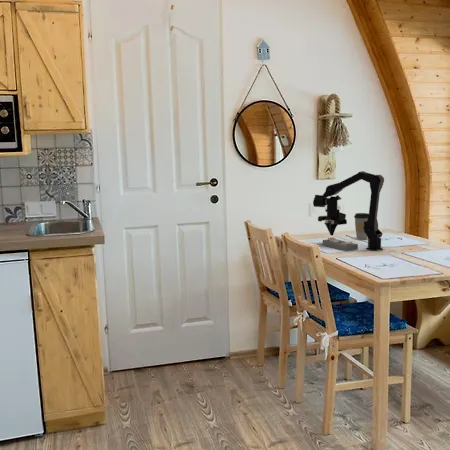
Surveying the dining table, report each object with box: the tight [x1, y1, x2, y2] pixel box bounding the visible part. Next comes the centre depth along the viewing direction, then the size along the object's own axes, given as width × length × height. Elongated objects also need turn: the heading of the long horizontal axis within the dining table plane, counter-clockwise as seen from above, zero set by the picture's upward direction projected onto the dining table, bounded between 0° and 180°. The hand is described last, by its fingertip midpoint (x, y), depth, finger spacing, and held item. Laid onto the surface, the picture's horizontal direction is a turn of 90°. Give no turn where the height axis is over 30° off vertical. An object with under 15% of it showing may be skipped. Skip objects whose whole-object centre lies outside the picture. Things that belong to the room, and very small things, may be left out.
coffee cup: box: [353, 212, 369, 241], centre depth 310 cm, size 9×9×15 cm
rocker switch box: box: [322, 239, 359, 252], centre depth 286 cm, size 20×8×3 cm, turn 27°
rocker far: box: [327, 237, 340, 242], centre depth 290 cm, size 6×4×1 cm, turn 27°
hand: (331, 235), depth 291 cm, fingers closed
